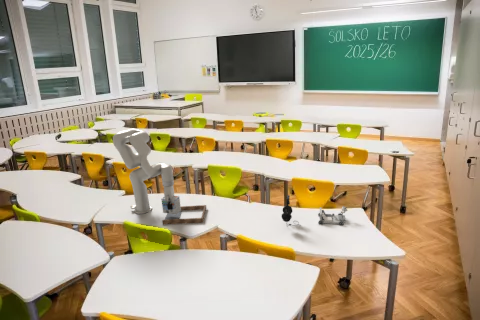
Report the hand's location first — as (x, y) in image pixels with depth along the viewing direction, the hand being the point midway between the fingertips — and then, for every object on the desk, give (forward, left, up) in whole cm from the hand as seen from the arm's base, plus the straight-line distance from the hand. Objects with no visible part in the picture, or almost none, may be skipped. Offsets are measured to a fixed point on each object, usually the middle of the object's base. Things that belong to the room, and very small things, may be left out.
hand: (171, 206), depth 231 cm
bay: (+8, 0, -8) cm, 12 cm away
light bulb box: (0, 0, -4) cm, 4 cm away
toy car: (+106, -17, -9) cm, 108 cm away
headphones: (+79, -21, -8) cm, 82 cm away
